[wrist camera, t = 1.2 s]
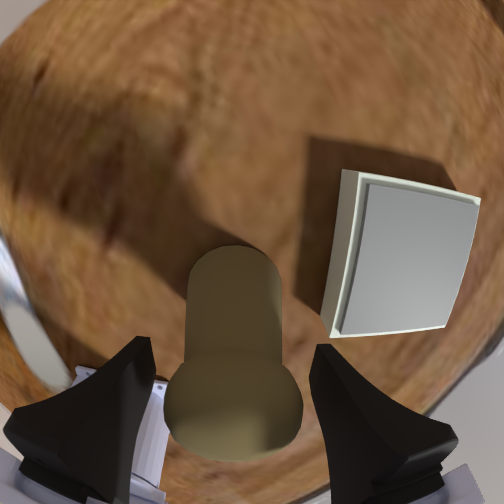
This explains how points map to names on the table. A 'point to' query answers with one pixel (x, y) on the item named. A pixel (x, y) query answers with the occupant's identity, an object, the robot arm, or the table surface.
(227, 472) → the table surface
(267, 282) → the cork
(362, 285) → the stand
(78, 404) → the robot arm
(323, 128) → the table surface
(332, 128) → the table surface
